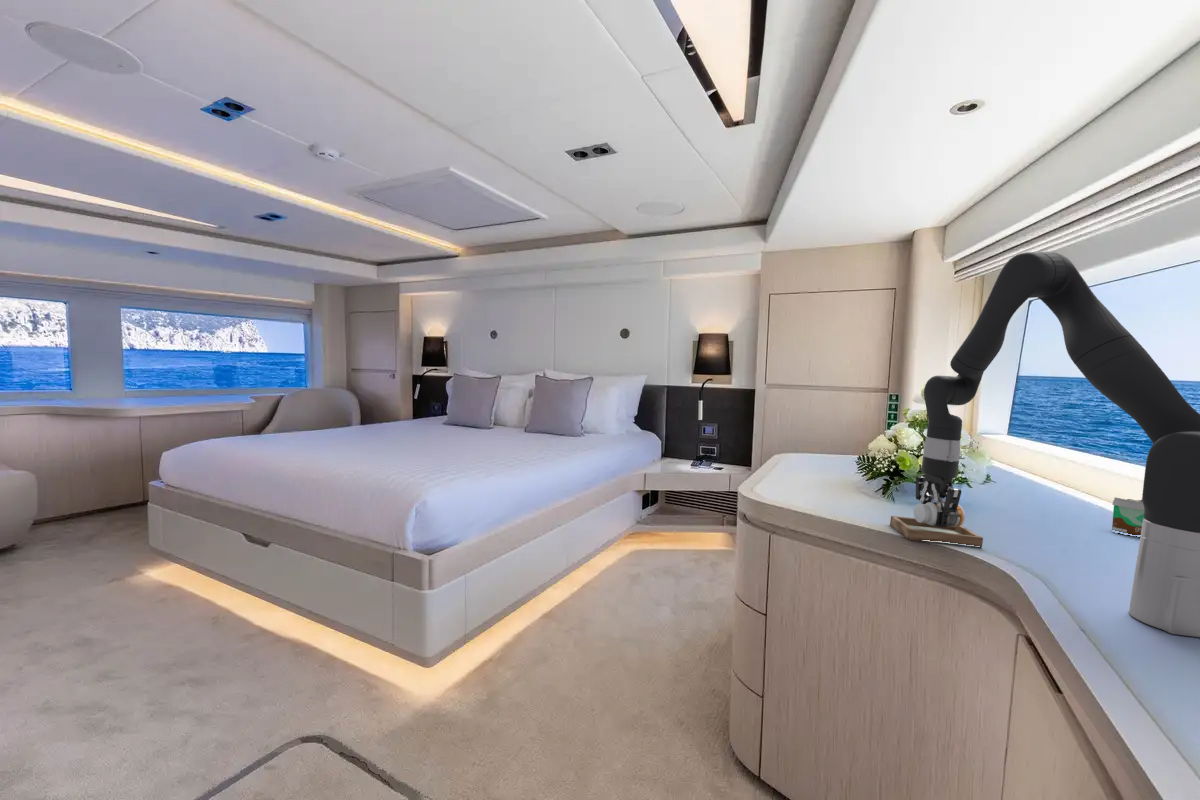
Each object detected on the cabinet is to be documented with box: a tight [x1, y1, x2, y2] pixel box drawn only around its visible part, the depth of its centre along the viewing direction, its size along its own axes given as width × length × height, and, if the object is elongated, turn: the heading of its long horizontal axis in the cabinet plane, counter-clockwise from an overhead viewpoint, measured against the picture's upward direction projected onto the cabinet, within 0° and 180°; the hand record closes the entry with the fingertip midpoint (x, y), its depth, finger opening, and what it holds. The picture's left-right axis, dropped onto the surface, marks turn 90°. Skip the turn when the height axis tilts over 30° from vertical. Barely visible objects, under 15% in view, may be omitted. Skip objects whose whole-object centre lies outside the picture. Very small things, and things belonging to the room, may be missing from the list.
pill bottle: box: [913, 501, 966, 527], centre depth 131 cm, size 6×6×10 cm
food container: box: [1111, 497, 1144, 535], centre depth 144 cm, size 12×6×10 cm, turn 105°
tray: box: [889, 515, 984, 548], centre depth 131 cm, size 12×16×2 cm
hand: (932, 522), depth 131 cm, fingers closed on pill bottle, 5 cm apart
